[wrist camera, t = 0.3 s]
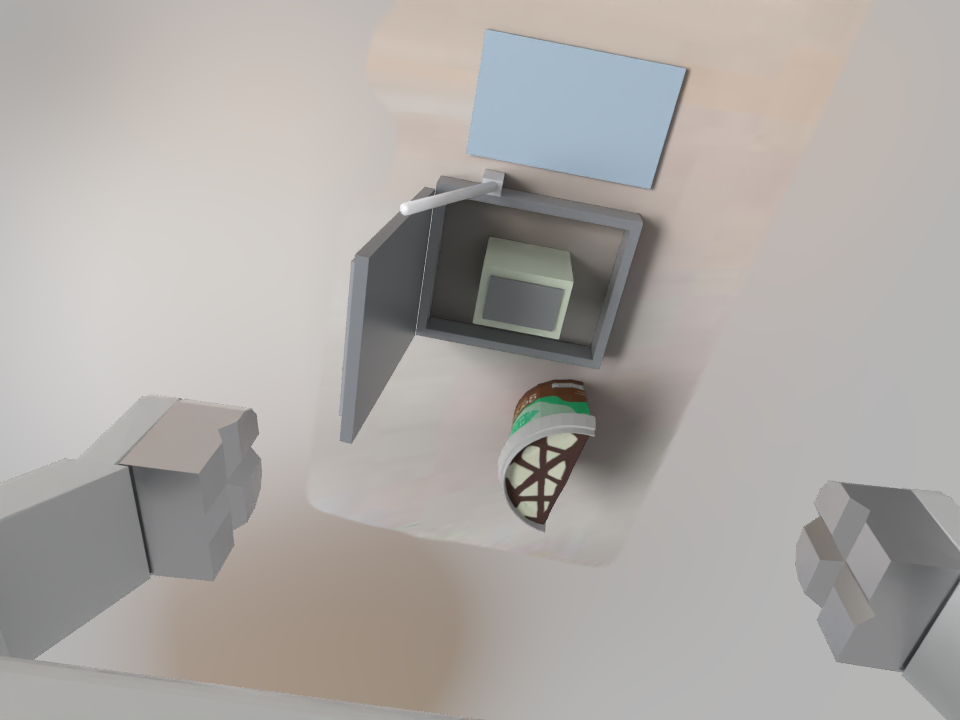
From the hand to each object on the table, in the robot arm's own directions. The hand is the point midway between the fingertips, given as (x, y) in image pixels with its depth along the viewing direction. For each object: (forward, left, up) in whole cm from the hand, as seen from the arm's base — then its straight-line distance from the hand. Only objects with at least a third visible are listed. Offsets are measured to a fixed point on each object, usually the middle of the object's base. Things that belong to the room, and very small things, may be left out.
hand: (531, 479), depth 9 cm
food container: (+28, +6, -47) cm, 55 cm away
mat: (+1, +3, -46) cm, 46 cm away
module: (+14, +2, -46) cm, 49 cm away
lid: (+14, -7, -35) cm, 38 cm away
